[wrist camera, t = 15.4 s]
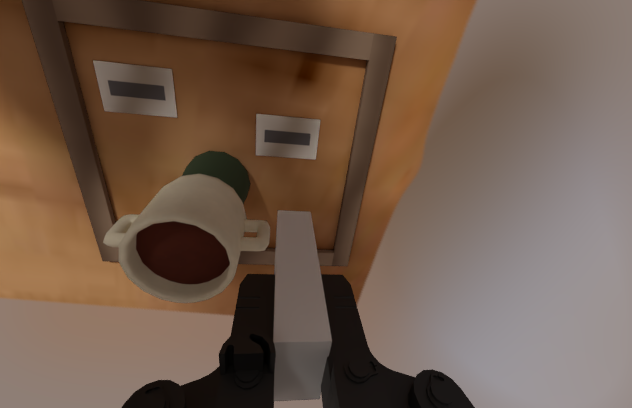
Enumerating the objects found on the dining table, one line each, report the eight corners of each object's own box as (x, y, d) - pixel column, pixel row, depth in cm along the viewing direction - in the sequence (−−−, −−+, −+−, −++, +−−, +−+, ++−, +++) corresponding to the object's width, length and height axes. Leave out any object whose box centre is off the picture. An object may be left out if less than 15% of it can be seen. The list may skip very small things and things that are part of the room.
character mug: (167, 206, 30) (97, 304, 19) (157, 139, 27) (64, 210, 15) (271, 211, 32) (265, 304, 20) (275, 149, 28) (269, 219, 17)
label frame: (105, 257, 32) (102, 261, 32) (23, -16, 20) (16, -18, 20) (346, 263, 36) (347, 266, 36) (394, 36, 24) (396, 36, 24)
